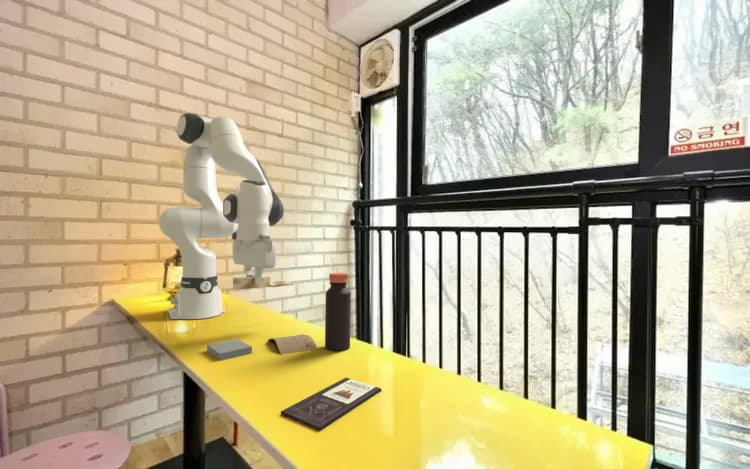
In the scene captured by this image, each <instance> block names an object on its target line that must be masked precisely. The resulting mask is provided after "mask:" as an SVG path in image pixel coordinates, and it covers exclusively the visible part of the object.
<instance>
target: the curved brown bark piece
mask: <svg viewBox="0 0 750 469" xmlns="http://www.w3.org/2000/svg"><path fill="white" fill-rule="evenodd" d="M274 341H275V343H276V345H277V348H278V351H279V354H280V355H281V356H282V355H287V354H294V353H301V352H308V351H315V350H318V348H317V344H316V342H315V340H314V339H313V338H312V337H311V336H310V335H308V334H297V335H291V336H281V337H275V338H274V337H272V338H269V339H267V342H274Z"/></svg>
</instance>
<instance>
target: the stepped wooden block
mask: <svg viewBox="0 0 750 469" xmlns="http://www.w3.org/2000/svg"><path fill="white" fill-rule="evenodd" d="M293 285H294V283H293V282H289V281H285V280H279V281H271V276H268V275H262V276H261V282H260V283H255V282H253V277H246V276H242V277H241V276H240V277H233V278H232V289H234V290H236V291H238V290H239V291H240V290H249V289H260V288H268V287H269V288H277V287H279V288H280V287H286V286H289V287H290V286H293Z"/></svg>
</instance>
